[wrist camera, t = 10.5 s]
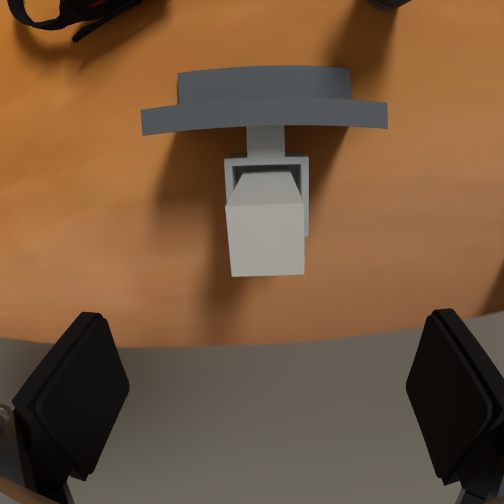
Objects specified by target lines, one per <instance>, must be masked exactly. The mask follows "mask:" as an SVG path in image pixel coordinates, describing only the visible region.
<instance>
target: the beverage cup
mask: <svg viewBox="0 0 504 504" xmlns="http://www.w3.org/2000/svg"><path fill="white" fill-rule="evenodd" d="M367 1H368V2H369V3H370V4H371V5H373V6H374V7H376V8H378V9H380V10H385V11H389V10H393V9H395V8H397V7H400V6H402V5H404V4H405V3H407V2H409V1H411V0H367Z"/></svg>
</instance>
